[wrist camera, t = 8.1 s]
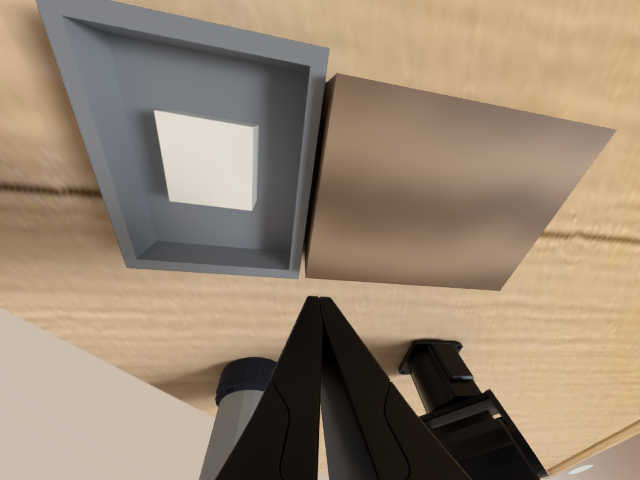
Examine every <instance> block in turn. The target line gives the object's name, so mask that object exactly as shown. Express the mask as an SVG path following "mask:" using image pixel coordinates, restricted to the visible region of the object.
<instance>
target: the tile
mask: <svg viewBox="0 0 640 480" xmlns="http://www.w3.org/2000/svg"><path fill="white" fill-rule="evenodd" d="M154 114H155V120H156V125H157V131H158V137H159V143H160V149H161V154H162V160H163V166H164V172H165V177H166V183H167V189H168V195H169V200H170V201H172V202H181V203H189V204H198V205H206V206H215V207H223V208H232V209H240V210H249V211H252V210H253V207H254V205H255V203H256V201H257V175H258V139H259V125H257V124H251V123H245V122H240V121H234V120H228V119H222V118H217V117H211V116H205V115H199V114H194V113H188V112H182V111H176V110H154Z"/></svg>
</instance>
